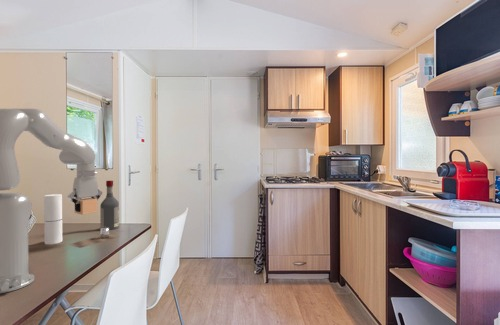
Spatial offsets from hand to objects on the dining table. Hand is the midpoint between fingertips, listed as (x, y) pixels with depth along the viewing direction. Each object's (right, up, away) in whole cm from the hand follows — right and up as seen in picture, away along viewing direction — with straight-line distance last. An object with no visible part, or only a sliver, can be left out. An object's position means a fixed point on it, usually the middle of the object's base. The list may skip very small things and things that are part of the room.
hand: (86, 209), depth 128 cm
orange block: (0, -1, 0) cm, 1 cm away
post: (+5, -16, +8) cm, 19 cm away
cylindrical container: (-17, -18, +1) cm, 25 cm away
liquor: (-3, -18, +27) cm, 32 cm away
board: (+2, -18, +4) cm, 18 cm away
